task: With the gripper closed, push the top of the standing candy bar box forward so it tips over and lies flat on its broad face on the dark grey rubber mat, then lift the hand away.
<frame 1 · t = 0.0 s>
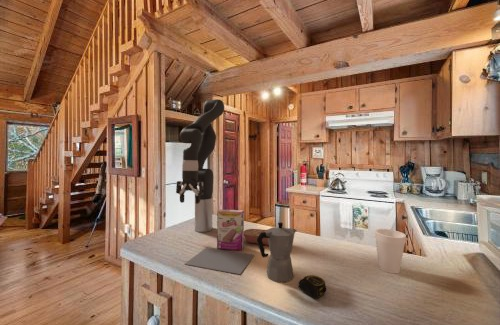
hand: (189, 202, 111), 17 cm above the countertop, fingers open, 8 cm apart
mat: (221, 259, 88), on the countertop
tape measure: (313, 294, 67), on the countertop
anatomical model: (267, 244, 104), on the countertop
foam cup: (389, 269, 82), on the countertop
candy bar box: (230, 248, 99), on the countertop
coffeepot: (277, 276, 76), on the countertop
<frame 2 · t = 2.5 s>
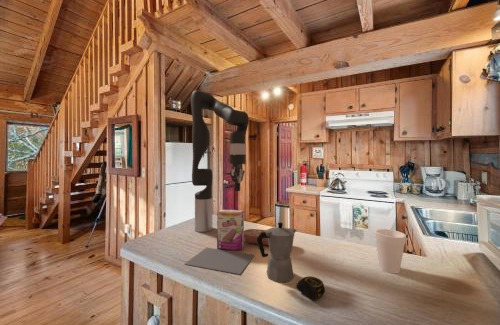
hand: (237, 190, 106), 24 cm above the countertop, fingers closed
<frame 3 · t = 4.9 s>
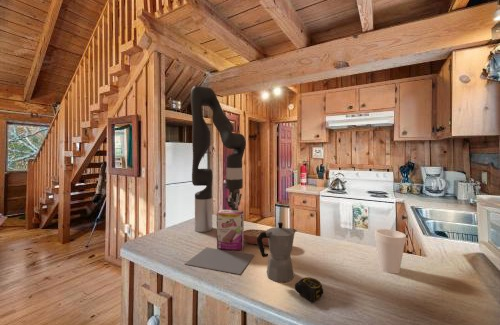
hand: (234, 216, 102), 13 cm above the countertop, fingers closed
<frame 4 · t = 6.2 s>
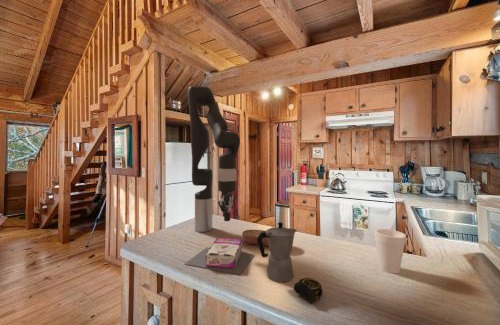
hand: (227, 220, 95), 13 cm above the countertop, fingers closed
candy bar box: (229, 243, 97), point 3 cm above the countertop, touching mat
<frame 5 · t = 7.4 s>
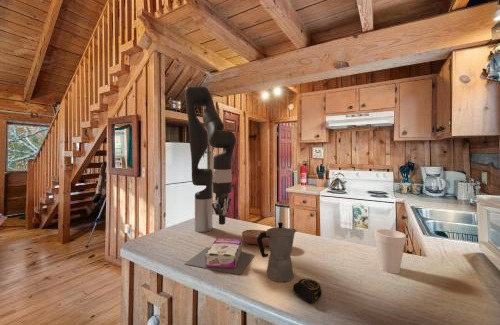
hand: (222, 224, 91), 13 cm above the countertop, fingers closed
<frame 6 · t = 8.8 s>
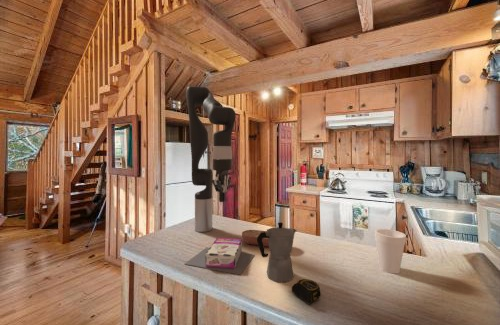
hand: (222, 201, 90), 22 cm above the countertop, fingers closed
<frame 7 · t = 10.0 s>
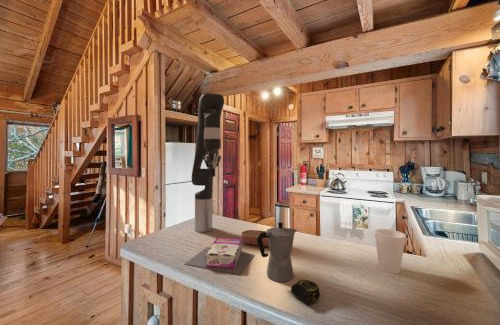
hand: (212, 176, 103), 31 cm above the countertop, fingers closed
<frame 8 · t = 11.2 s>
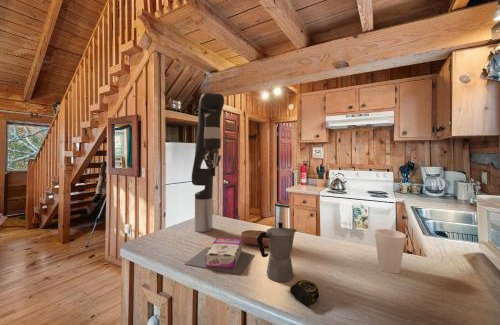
hand: (212, 176, 103), 31 cm above the countertop, fingers closed
at the end: candy bar box tilted 89°; candy bar box touching mat; candy bar box inside the target area (3.1 cm from its centre), point 2.7 cm above the countertop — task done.
